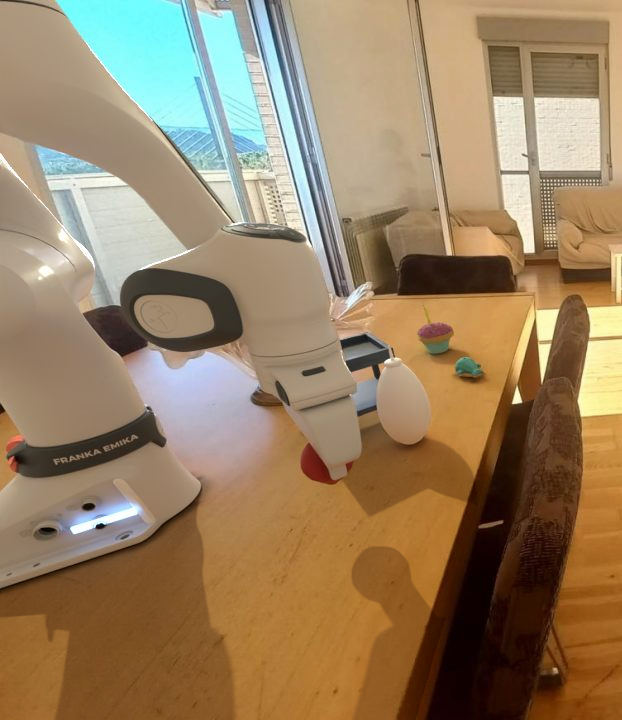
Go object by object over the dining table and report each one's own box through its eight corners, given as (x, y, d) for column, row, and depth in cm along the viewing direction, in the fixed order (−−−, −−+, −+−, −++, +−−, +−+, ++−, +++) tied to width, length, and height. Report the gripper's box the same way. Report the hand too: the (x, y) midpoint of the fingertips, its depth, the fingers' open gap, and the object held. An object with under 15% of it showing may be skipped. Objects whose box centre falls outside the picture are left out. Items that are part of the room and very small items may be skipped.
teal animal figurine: (473, 366, 110) (470, 351, 109) (491, 375, 106) (488, 359, 104) (450, 375, 106) (447, 359, 105) (468, 384, 102) (465, 368, 100)
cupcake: (413, 355, 118) (403, 308, 113) (435, 342, 125) (426, 299, 120) (443, 358, 115) (433, 311, 111) (463, 345, 123) (455, 300, 118)
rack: (327, 456, 78) (299, 373, 72) (308, 430, 86) (281, 353, 80) (411, 423, 87) (392, 347, 81) (386, 402, 95) (368, 331, 89)
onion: (347, 464, 66) (334, 414, 63) (367, 480, 63) (353, 428, 60) (301, 485, 62) (284, 432, 59) (319, 503, 58) (302, 448, 55)
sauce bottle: (416, 425, 87) (395, 333, 79) (445, 436, 83) (425, 340, 76) (378, 446, 80) (350, 349, 73) (407, 459, 77) (381, 358, 70)
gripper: (251, 350, 60) (281, 442, 66) (293, 403, 47) (326, 513, 52) (307, 338, 65) (331, 425, 70) (360, 383, 51) (384, 487, 57)
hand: (329, 464), depth 61 cm, fingers closed on onion, 6 cm apart
